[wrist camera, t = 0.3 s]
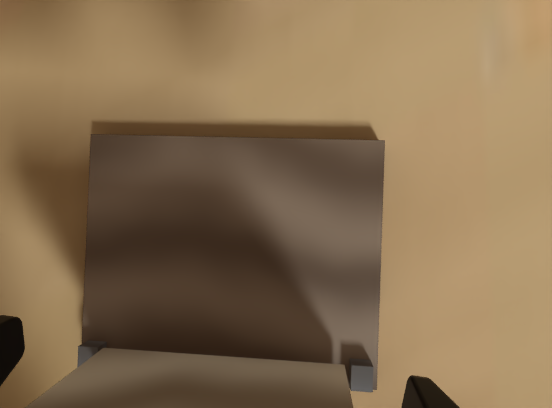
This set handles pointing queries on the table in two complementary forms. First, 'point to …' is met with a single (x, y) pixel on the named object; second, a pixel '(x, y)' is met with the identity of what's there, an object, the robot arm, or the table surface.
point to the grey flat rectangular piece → (196, 382)
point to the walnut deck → (236, 249)
